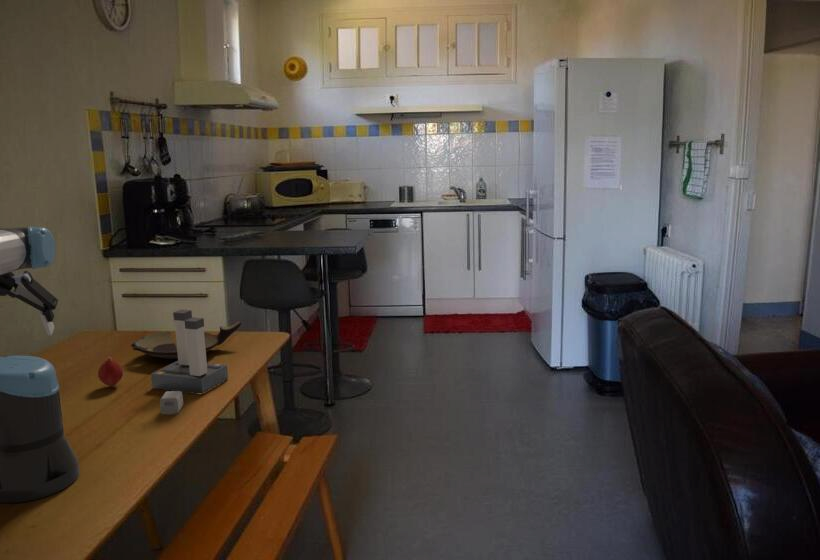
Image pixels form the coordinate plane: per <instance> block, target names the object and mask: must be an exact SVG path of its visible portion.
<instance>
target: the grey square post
mask: <svg viewBox="0 0 820 560" xmlns="http://www.w3.org/2000/svg"><path fill="white" fill-rule="evenodd" d="M204 319H205V318H204V317H195V316H194V317H193V316H192V318H190V319H187V320H185V329H186V336H187V347H188V359H189V370H190V375H195V376H201V375H203V374H205V373H207V361H208V360H207V352H206V349H205V337H204V332H205V320H204Z"/></svg>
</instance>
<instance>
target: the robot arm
mask: <svg viewBox="0 0 820 560" xmlns="http://www.w3.org/2000/svg"><path fill="white" fill-rule="evenodd" d="M55 256H56V245H55V240H54V236H53V233H52V232H51V231H50V230H49V229H48V228H45V227H41V226H34V227H33V226H28V227H26V226H25V227H24V226H23V227H0V297H6V296H9V297H11V298H13V299H14V298H16V299H18V300H20V301H22V302H23V303H24V304H26V305H29V306H31V307H33V308H34V309H36V310H38V311H39V312H38V315H39V317H40V320H41V322H42V324H43V327H44V329H45V331H46V334H47V336H52V335H53V332H54V330H55V324H54V322H53V321H54V318H55V314H54V312H53V311H55V310H56V308H57V305H58V302H59V299H58V298H57V297H55V296H54V295H53V294H52V293H51V292H50V291H48V290H47V289H46V288H45V287H44V286H43V285H41V284H40V283H39V282H38V281H37V280H36V279H34V277H33V275H32V274H31V272H30V271H29V270H27V269H32V270H36V269H39V268H42V269H43V268H47V267H49V266H51V265H52V264H53V262H54V260H55ZM23 269H26V270H24V271H23V273H21V274H14V273H13V272H14V271H19V270H23ZM13 288H14V289H13ZM59 384H60V383H59V381H58V378H57V373H56V369H55V366H54V365H53V364H52V363H51V362H49V361H48V360H47V359H44V358H42V357H38V356H34V355H33V356H31V355H8V356H6V357H4V356H0V503H5V504H7V503H8V504H11V503H12V504H15V503H25V502H30V501H31V502H32V501H34V500H35V501H36V500H39V499H43V498H45V497H48V496H51V495H54V494H56V493H58V492H60V491H62V490H64V489H66V488H68V487H70V486H71V485H72V484H73V483H75V482H76V481H77V479H78V478H79V476H80V474H81V470H80V464H79V463H80V462H79V459H78V458H77V455H76V453H75V452H74V450H73V448H72V447H71V444H70V443H69V441H68V439H67V437H66V435H65V430H64V422H63V421H64V420H63V413H62V412H63V411H62V405H61V397H60V396H61V395H60V385H59Z"/></svg>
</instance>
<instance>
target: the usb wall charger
mask: <svg viewBox="0 0 820 560" xmlns="http://www.w3.org/2000/svg"><path fill="white" fill-rule="evenodd" d="M159 404H160V413H161V415H163V414H166V415H174V414H173V413H178V414H179V413H180V411H181V409H182V408H183V406H184V398H183V392H181V391H168V390H166V391H165V392H164V394H163V395H162V397H160V400H159Z"/></svg>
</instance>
